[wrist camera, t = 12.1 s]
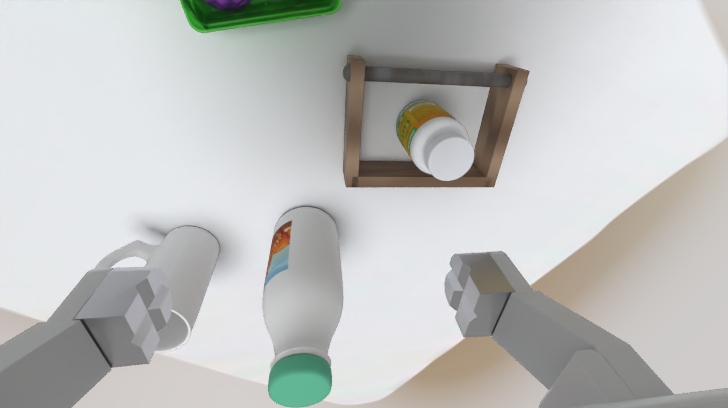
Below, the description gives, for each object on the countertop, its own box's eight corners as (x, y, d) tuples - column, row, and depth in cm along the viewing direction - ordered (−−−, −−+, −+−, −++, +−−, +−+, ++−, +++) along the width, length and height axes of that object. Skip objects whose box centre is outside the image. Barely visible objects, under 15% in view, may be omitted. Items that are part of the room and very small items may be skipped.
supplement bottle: (391, 105, 34) (416, 136, 25) (442, 94, 34) (483, 121, 25) (398, 152, 36) (422, 194, 28) (444, 142, 36) (482, 181, 28)
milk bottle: (313, 193, 38) (311, 344, 21) (349, 236, 41) (372, 393, 24) (261, 225, 39) (219, 392, 22) (300, 264, 43) (290, 431, 26)
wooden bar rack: (341, 55, 30) (344, 60, 27) (512, 65, 33) (535, 71, 30) (337, 170, 36) (340, 187, 33) (482, 171, 39) (499, 187, 36)
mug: (232, 239, 39) (203, 319, 29) (207, 274, 42) (173, 360, 31) (145, 200, 35) (77, 277, 25) (123, 241, 38) (52, 327, 27)
